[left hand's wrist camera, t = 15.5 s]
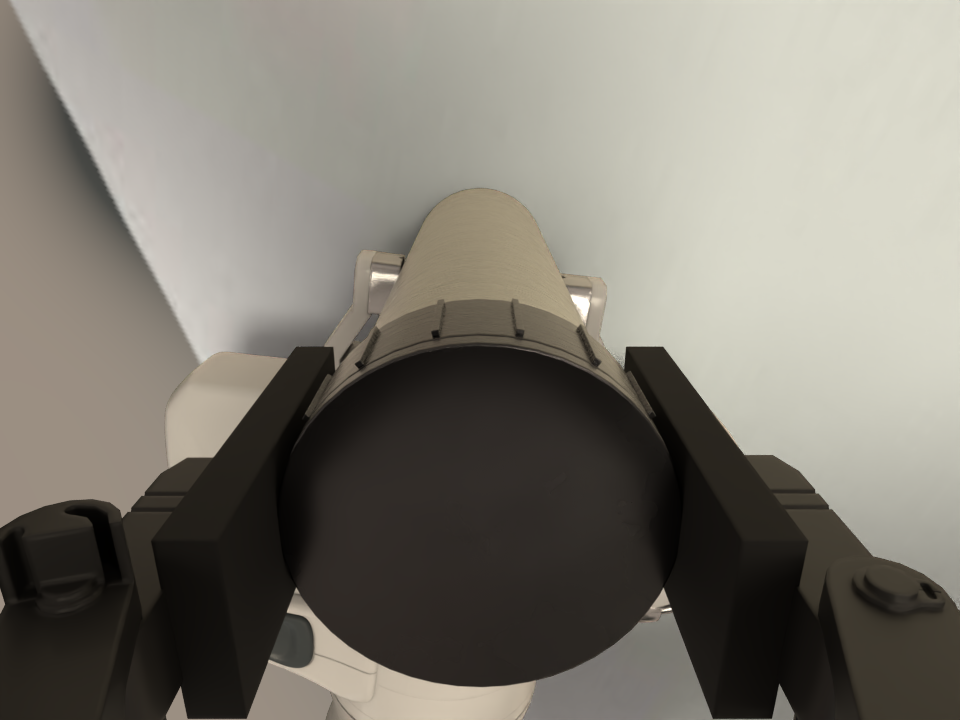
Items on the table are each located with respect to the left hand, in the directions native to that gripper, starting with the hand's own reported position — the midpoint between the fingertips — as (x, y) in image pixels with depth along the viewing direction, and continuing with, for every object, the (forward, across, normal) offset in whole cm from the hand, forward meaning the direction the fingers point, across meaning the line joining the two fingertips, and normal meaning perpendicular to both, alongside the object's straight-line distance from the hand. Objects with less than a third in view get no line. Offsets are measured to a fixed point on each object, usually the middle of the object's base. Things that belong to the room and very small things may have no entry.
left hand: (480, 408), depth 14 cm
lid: (-4, 0, 0) cm, 4 cm away
